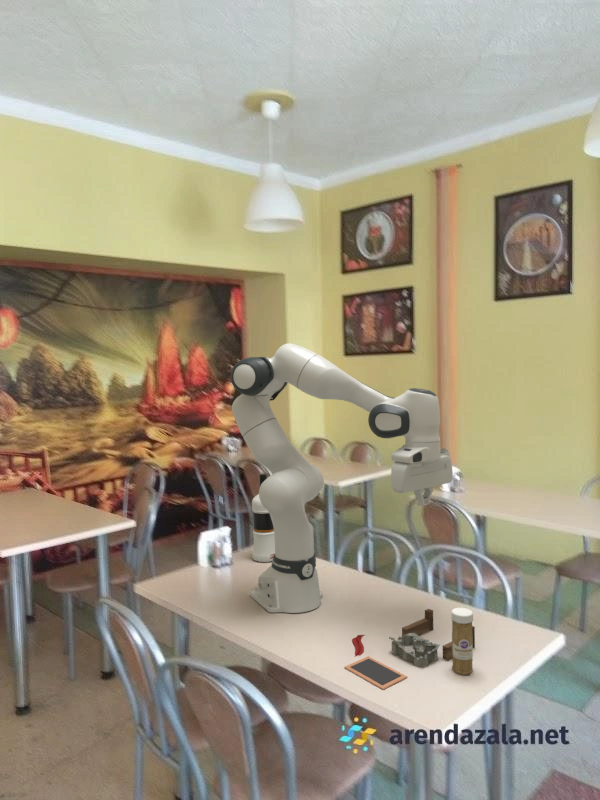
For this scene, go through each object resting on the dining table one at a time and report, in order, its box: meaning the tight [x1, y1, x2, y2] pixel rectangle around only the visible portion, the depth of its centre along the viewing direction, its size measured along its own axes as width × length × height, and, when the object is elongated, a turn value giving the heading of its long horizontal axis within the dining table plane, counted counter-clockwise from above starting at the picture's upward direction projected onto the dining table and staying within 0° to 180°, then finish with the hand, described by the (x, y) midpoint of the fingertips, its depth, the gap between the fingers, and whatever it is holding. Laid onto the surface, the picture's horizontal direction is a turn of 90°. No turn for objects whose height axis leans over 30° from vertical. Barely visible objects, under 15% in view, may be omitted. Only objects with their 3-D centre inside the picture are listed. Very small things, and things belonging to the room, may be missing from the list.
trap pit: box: [344, 655, 408, 691], centre depth 135 cm, size 12×8×1 cm, turn 38°
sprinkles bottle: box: [450, 607, 474, 676], centre depth 134 cm, size 5×5×13 cm
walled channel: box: [401, 608, 476, 662], centre depth 148 cm, size 14×10×5 cm
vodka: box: [251, 473, 275, 563], centre depth 213 cm, size 9×9×30 cm
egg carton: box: [388, 633, 441, 668], centre depth 142 cm, size 11×8×4 cm
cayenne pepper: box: [351, 634, 366, 657], centre depth 148 cm, size 12×5×2 cm, turn 155°
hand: (423, 504), depth 158 cm, fingers closed
